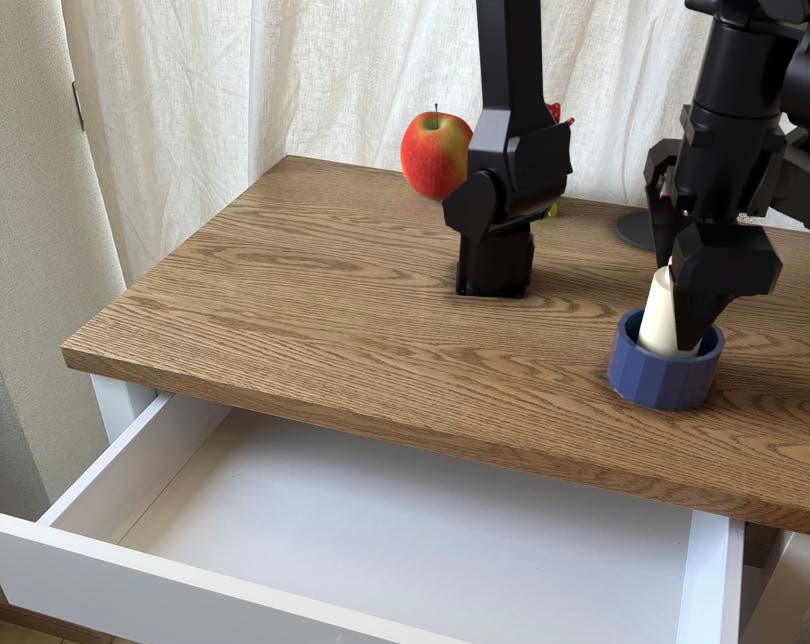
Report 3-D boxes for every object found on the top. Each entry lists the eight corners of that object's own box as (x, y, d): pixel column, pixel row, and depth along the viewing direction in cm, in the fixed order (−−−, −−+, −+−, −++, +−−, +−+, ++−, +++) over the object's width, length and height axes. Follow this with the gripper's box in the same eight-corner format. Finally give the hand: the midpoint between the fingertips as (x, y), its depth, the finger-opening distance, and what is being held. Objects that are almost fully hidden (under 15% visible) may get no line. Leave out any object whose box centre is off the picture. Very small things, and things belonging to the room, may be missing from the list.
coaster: (620, 250, 85) (621, 246, 85) (611, 211, 92) (612, 208, 91) (708, 255, 85) (709, 251, 85) (693, 216, 91) (694, 212, 91)
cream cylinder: (631, 394, 67) (669, 256, 59) (625, 361, 71) (659, 225, 62) (691, 398, 67) (737, 259, 58) (682, 364, 70) (724, 228, 62)
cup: (611, 411, 66) (624, 358, 63) (601, 353, 72) (613, 301, 69) (715, 418, 66) (734, 365, 62) (697, 359, 72) (714, 307, 68)
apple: (487, 196, 94) (496, 102, 86) (439, 219, 89) (444, 121, 82) (434, 175, 97) (438, 82, 90) (386, 195, 93) (386, 100, 86)
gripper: (915, 168, 47) (811, 394, 58) (824, 62, 59) (753, 264, 71) (716, 158, 47) (650, 384, 58) (668, 55, 60) (622, 257, 71)
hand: (675, 316), depth 65 cm, fingers open, 9 cm apart
